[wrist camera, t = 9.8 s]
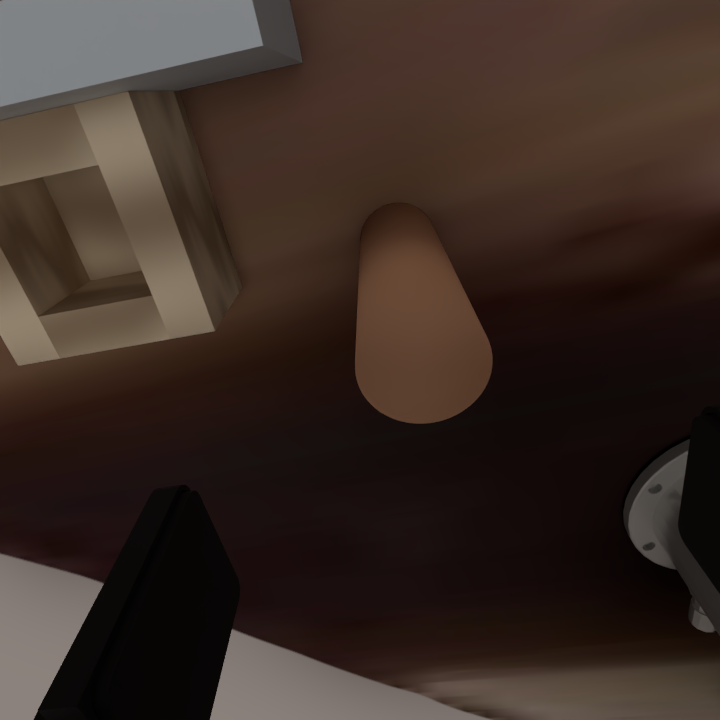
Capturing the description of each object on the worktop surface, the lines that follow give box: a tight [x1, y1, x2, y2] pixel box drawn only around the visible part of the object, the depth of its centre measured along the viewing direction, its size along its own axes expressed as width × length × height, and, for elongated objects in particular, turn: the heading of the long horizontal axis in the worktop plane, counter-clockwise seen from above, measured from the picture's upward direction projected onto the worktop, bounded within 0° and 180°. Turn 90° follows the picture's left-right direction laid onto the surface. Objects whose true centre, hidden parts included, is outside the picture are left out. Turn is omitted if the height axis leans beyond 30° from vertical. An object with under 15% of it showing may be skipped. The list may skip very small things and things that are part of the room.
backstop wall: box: [0, 0, 303, 121], centre depth 19 cm, size 2×22×10 cm, turn 101°
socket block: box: [0, 91, 242, 366], centre depth 24 cm, size 10×10×6 cm
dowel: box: [355, 203, 492, 423], centre depth 21 cm, size 4×4×14 cm
